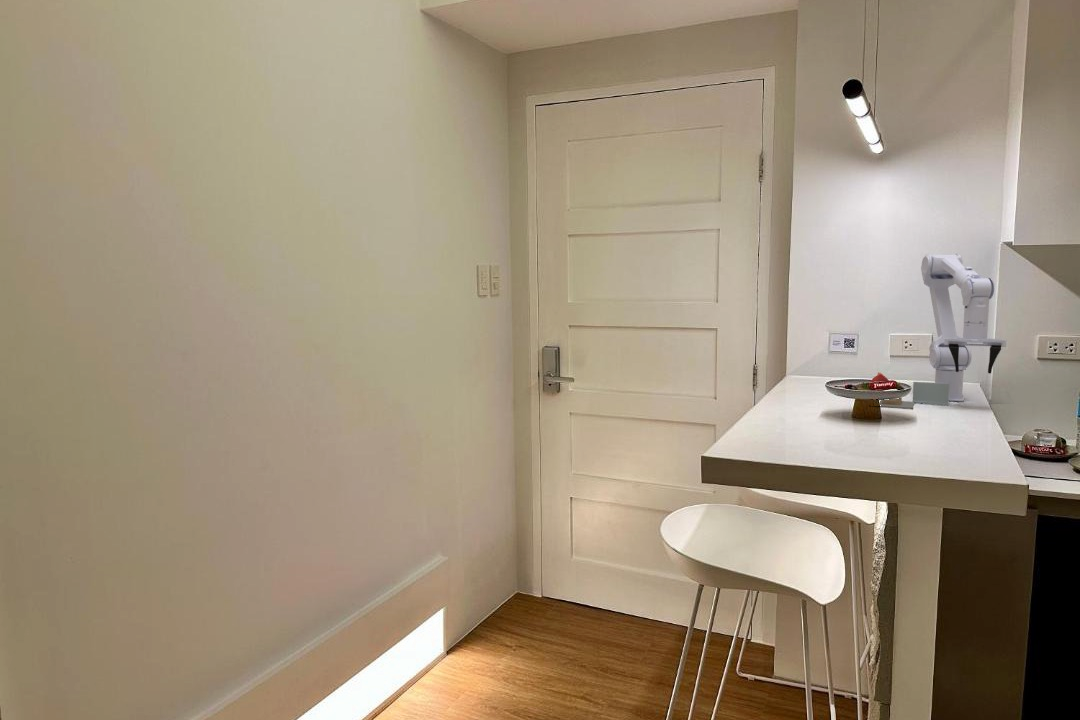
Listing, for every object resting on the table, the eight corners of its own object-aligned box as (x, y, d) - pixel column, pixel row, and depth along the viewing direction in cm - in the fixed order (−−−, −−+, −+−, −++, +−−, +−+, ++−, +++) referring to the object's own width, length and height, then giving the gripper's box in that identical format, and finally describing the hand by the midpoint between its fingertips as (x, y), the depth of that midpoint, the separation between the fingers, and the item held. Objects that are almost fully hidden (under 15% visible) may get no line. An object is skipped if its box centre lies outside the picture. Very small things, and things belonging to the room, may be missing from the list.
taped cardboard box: (883, 401, 217) (884, 385, 216) (901, 402, 215) (902, 386, 214) (882, 404, 213) (883, 388, 212) (900, 405, 211) (901, 389, 210)
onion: (885, 397, 227) (887, 371, 226) (893, 400, 221) (894, 373, 220) (865, 397, 227) (866, 370, 227) (872, 400, 222) (873, 373, 221)
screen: (912, 401, 219) (913, 381, 218) (948, 403, 215) (949, 382, 214) (912, 403, 216) (913, 382, 215) (948, 405, 212) (949, 384, 211)
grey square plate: (872, 400, 222) (872, 399, 221) (914, 403, 216) (914, 401, 216) (869, 406, 212) (869, 404, 212) (912, 409, 207) (912, 407, 207)
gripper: (945, 322, 205) (942, 372, 206) (1008, 324, 198) (1005, 375, 199) (945, 321, 211) (943, 369, 212) (1006, 322, 204) (1003, 372, 206)
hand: (973, 372), depth 206 cm, fingers open, 7 cm apart
